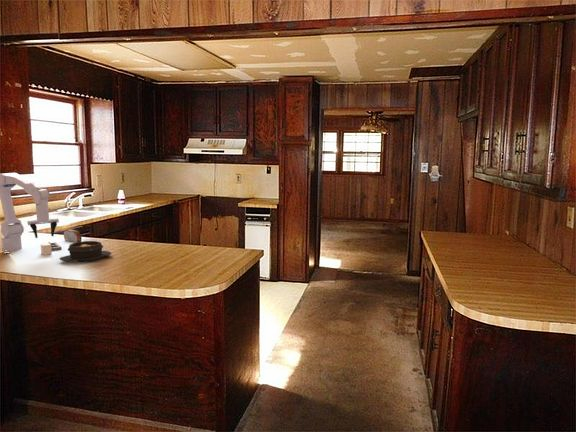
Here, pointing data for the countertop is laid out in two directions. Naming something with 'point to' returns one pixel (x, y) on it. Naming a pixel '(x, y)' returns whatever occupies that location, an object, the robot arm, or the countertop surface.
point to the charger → (46, 249)
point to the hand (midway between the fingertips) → (44, 236)
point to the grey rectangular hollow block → (55, 246)
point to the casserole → (85, 251)
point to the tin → (72, 235)
